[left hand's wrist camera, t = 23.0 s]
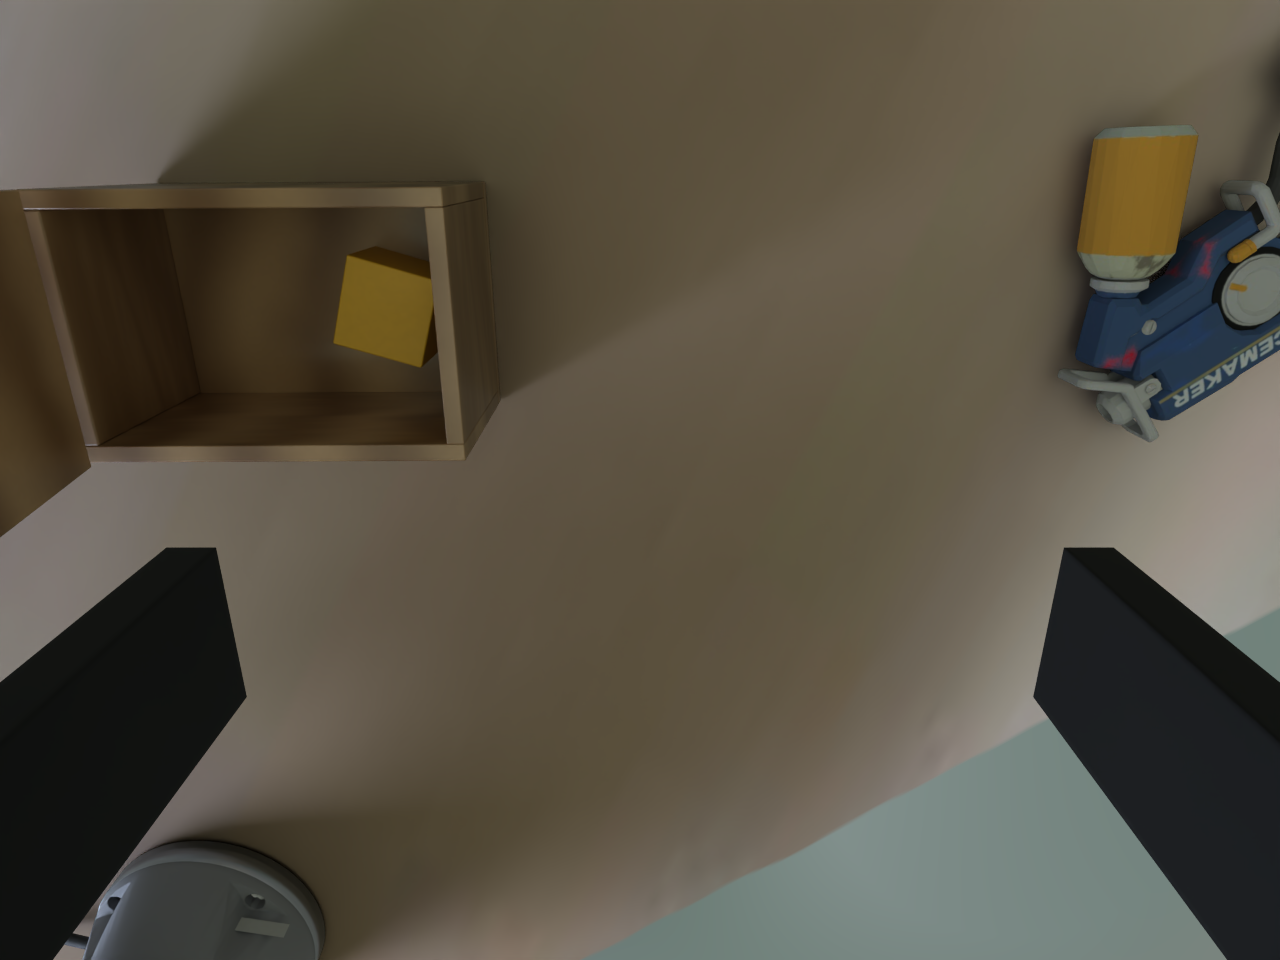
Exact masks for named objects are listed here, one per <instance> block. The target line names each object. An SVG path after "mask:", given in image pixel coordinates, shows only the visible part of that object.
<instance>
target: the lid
mask: <svg viewBox="0 0 1280 960" xmlns="http://www.w3.org/2000/svg"><path fill="white" fill-rule="evenodd" d="M90 467H91V464H90V460H89V457H88V453H87V449H86V445H85V441H84V438H83V434H82V430H81V426H80V422H79V419H78V415H77V411H76V407H75V403H74V400H73V396H72V392H71V388H70V384H69V381H68V377H67V373H66V369H65V365H64V362H63V358H62V354H61V350H60V346H59V343H58V339H57V335H56V331H55V327H54V324H53V320H52V316H51V312H50V308H49V305H48V301H47V297H46V293H45V289H44V286H43V282H42V278H41V274H40V270H39V267H38V263H37V259H36V255H35V251H34V248H33V244H32V240H31V236H30V232H29V229H28V225H27V221H26V217H25V213H24V210H23V206H22V202H21V198H20V194H19V191H18V190H0V537H1V536H2V535H4V534H5V533H6V532H8V531H9V530H10V529H12V528H13V527H14V526H15V525H17V524H18V523H19V522H21V521H22V520H23V519H24V518H26V517H27V516H28V515H30V514H31V513H32V512H33V511H35V510H36V509H37V508H39V507H40V506H41V505H43V504H44V503H45V502H46V501H48V500H49V499H50V498H52V497H53V496H54V495H55V494H57V493H58V492H59V491H61V490H62V489H63V488H65V487H66V486H67V485H68V484H70V483H71V482H72V481H74V480H75V479H76V478H77V477H79V476H80V475H81V474H83V473H84V472H85V471H87V470H88V469H89V468H90Z"/></svg>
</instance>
